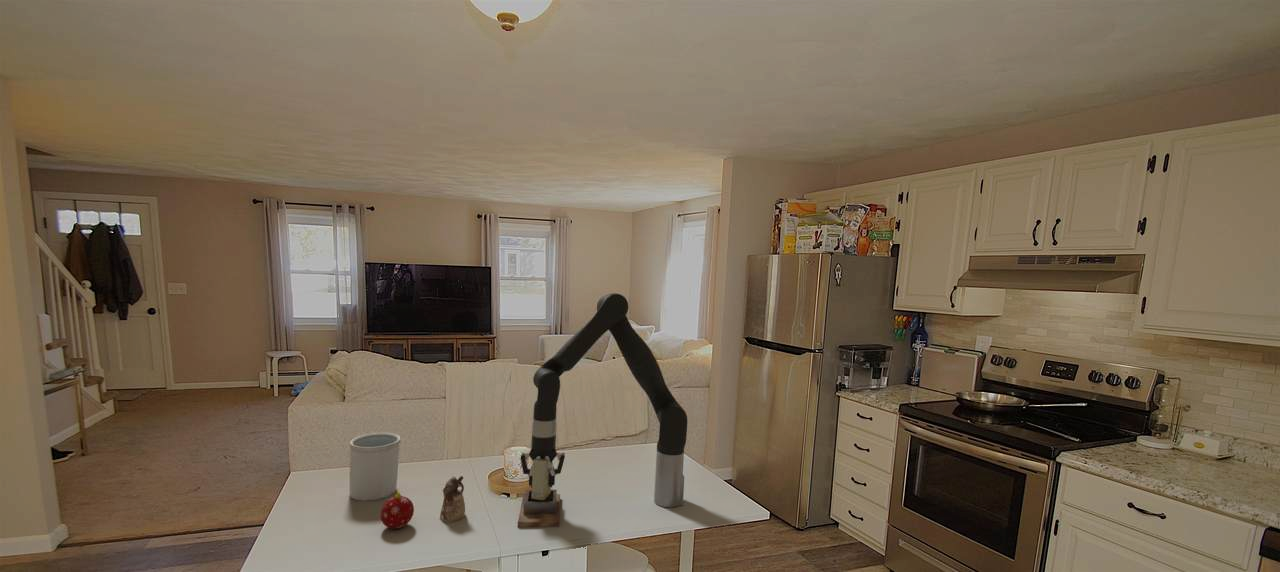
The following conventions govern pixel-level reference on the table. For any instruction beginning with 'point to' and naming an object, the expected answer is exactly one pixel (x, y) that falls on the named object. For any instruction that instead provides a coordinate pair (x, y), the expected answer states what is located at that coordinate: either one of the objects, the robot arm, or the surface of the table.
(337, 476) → the table surface
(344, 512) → the table surface
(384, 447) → the utensil holder
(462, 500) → the figurine
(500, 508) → the table surface
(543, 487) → the skincare box
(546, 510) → the collar
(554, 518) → the keeper board
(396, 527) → the christmas ornament
